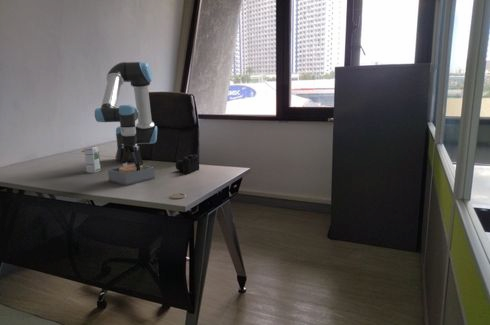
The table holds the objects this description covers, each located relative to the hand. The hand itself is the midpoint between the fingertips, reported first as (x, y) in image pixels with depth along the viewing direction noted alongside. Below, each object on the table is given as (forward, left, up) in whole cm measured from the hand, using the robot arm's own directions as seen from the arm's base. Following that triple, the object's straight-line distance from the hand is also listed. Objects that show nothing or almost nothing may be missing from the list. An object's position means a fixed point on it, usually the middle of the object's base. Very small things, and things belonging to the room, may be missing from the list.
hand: (131, 176), depth 193 cm
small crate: (0, 0, -1) cm, 1 cm away
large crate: (0, 0, -2) cm, 2 cm away
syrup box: (+2, -34, -2) cm, 34 cm away
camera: (-31, +10, -2) cm, 32 cm away
